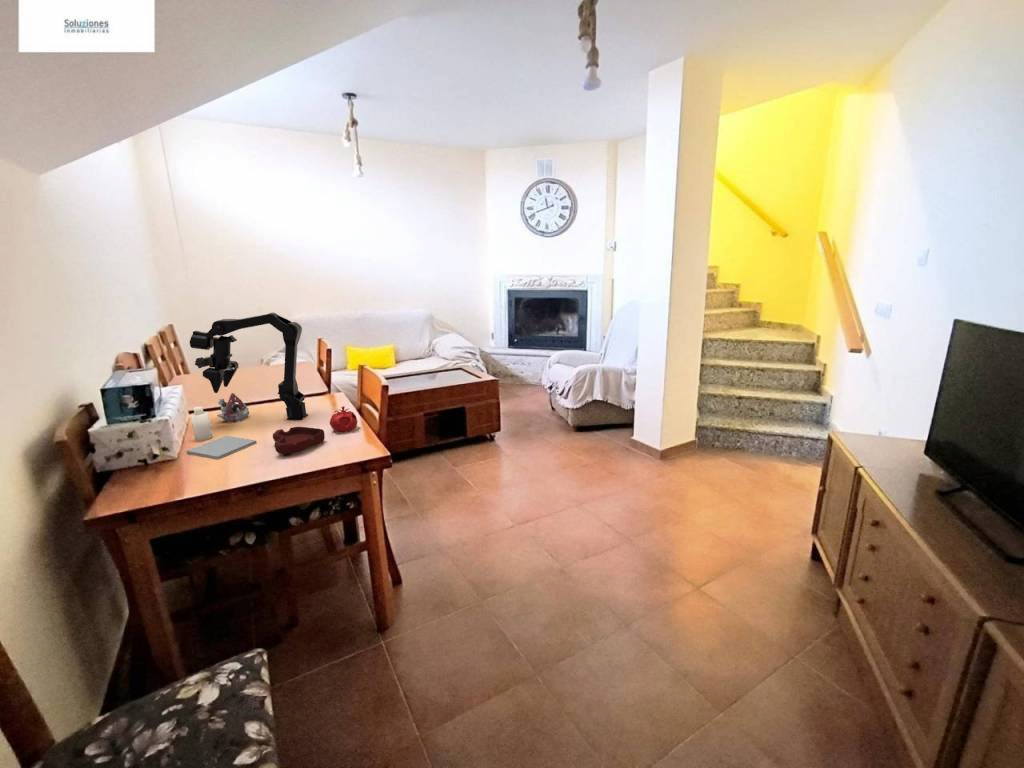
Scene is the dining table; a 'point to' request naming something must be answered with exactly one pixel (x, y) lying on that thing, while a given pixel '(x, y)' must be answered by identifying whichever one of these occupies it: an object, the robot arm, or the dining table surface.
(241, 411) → the grey red pointed piece
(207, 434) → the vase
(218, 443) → the board
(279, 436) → the ashtray
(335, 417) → the pomegranate
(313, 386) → the dining table surface
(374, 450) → the dining table surface
